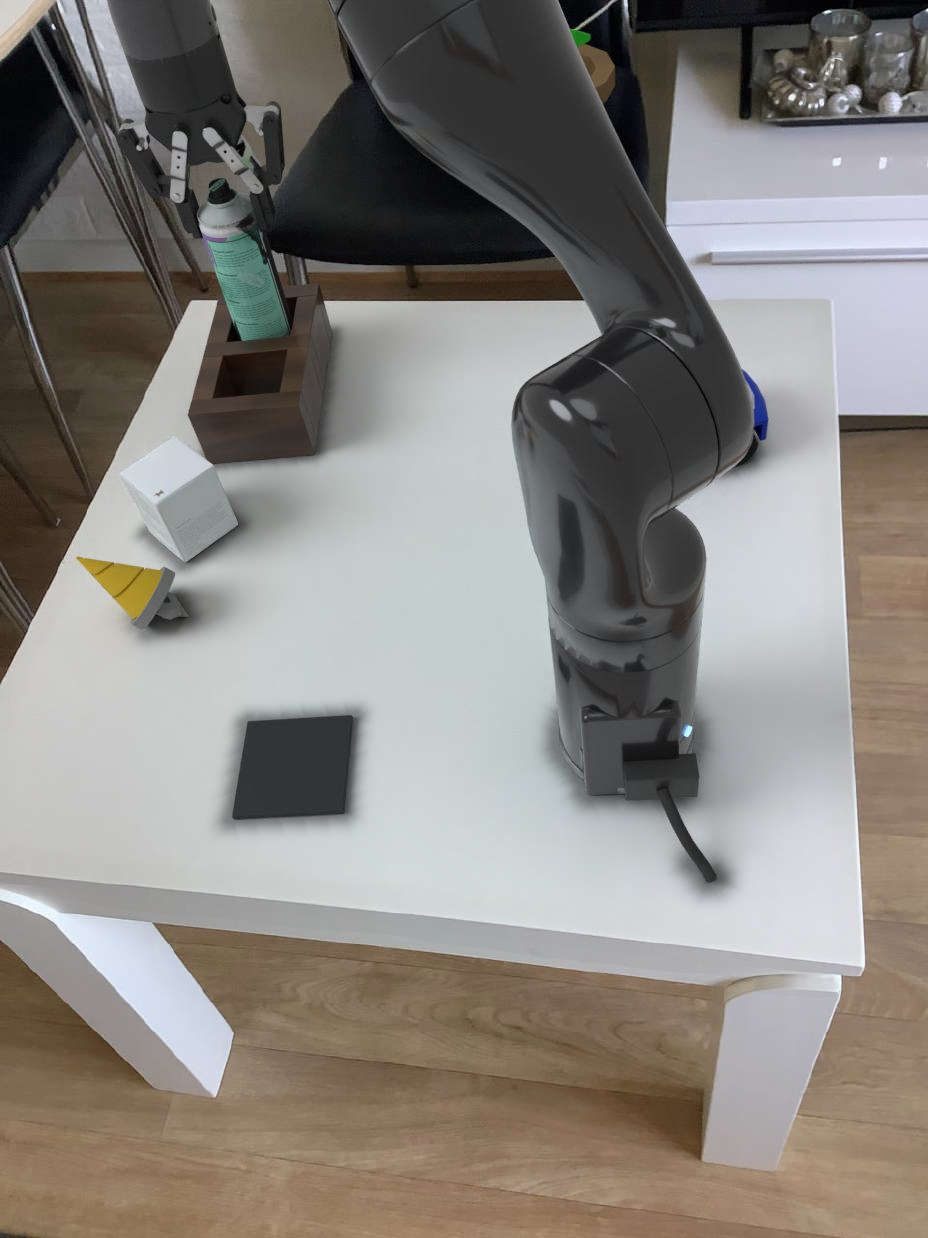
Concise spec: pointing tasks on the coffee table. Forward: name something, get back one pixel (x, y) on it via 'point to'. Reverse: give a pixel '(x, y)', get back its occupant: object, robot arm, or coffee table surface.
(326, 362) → the can holder
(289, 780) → the tool mat
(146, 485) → the product box
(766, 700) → the coffee table surface
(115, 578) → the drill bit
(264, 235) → the spray can
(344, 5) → the robot arm
